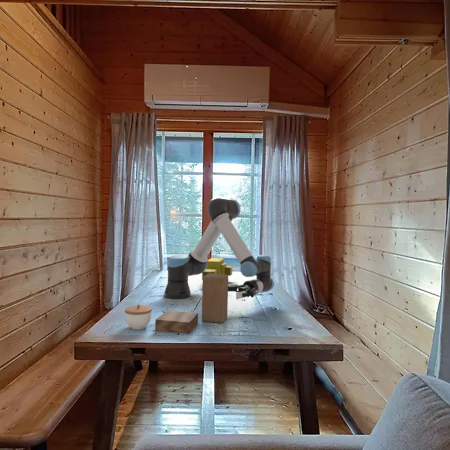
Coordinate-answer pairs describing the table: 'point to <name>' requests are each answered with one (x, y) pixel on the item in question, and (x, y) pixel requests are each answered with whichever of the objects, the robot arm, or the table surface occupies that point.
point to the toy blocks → (217, 267)
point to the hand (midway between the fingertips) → (225, 293)
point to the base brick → (176, 322)
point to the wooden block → (214, 298)
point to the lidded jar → (138, 316)
